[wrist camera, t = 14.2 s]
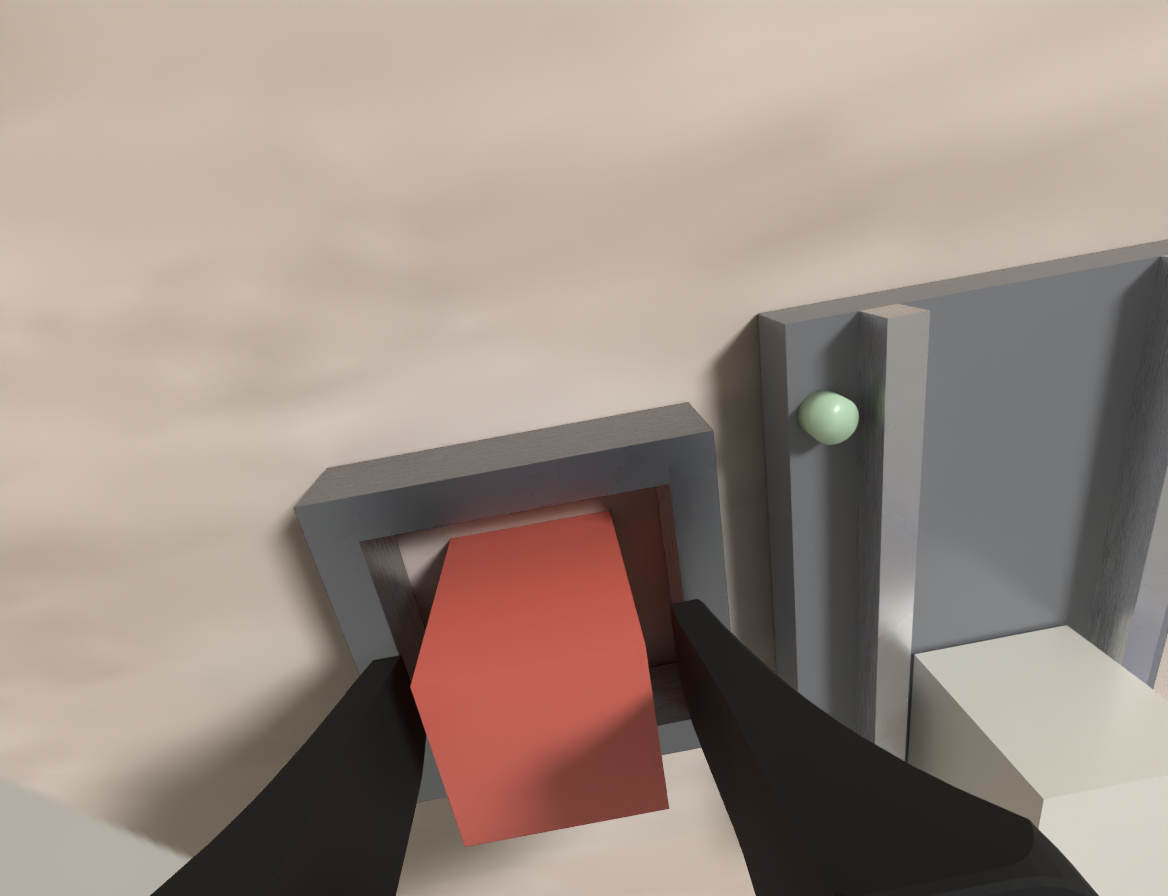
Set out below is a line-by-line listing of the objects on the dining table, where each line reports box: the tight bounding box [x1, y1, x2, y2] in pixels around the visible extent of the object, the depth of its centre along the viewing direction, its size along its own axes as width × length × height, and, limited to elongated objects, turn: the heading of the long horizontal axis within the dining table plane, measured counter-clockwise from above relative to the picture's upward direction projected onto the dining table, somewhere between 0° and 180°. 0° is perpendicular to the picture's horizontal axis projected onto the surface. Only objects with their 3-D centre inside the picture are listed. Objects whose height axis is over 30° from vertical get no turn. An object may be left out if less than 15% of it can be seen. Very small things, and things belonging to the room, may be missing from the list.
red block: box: [410, 510, 669, 847], centre depth 13 cm, size 4×4×5 cm
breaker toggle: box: [908, 625, 1168, 896], centre depth 14 cm, size 4×4×4 cm
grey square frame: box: [293, 402, 731, 803], centre depth 14 cm, size 8×8×2 cm
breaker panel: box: [758, 240, 1168, 763], centre depth 14 cm, size 10×14×2 cm
